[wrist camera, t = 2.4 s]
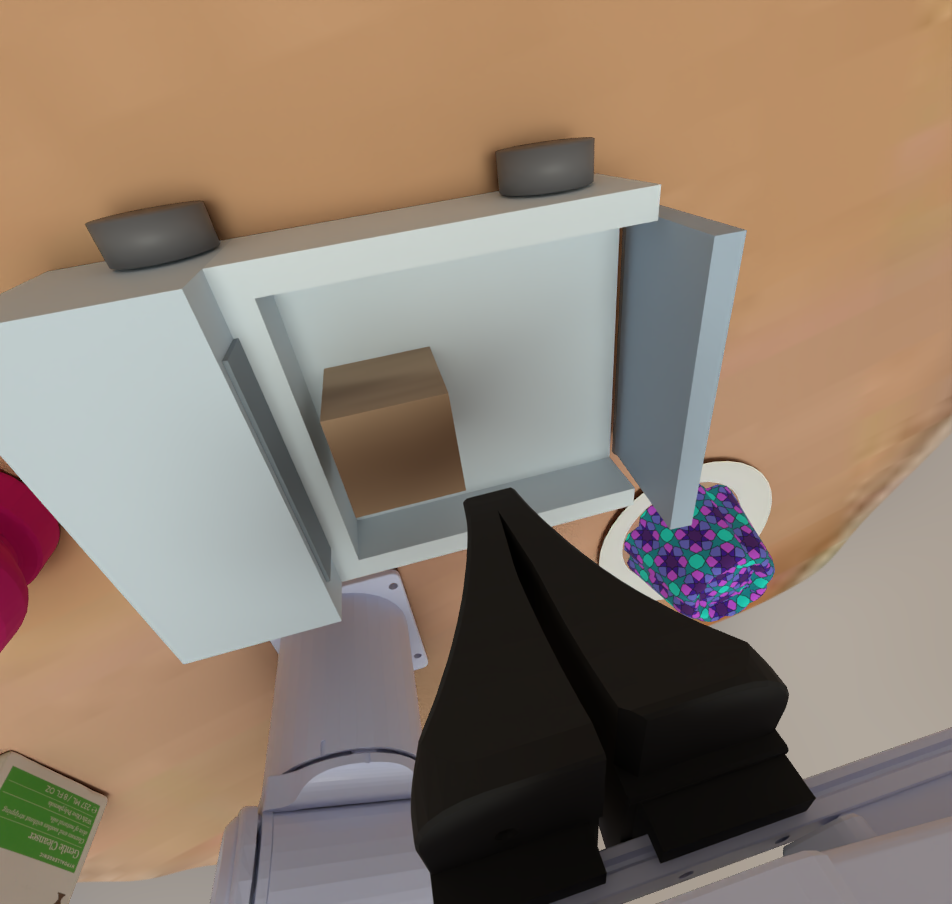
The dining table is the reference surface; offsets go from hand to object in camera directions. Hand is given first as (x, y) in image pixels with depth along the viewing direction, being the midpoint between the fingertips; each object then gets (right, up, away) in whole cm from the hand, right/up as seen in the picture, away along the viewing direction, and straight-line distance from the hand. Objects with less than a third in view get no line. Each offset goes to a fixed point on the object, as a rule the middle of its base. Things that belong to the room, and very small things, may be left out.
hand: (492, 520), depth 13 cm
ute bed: (-4, +5, +8) cm, 10 cm away
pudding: (+13, -3, +19) cm, 23 cm away
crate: (-4, +4, +6) cm, 8 cm away
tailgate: (+7, +5, +6) cm, 10 cm away
